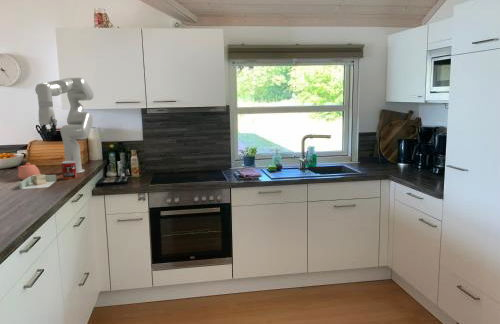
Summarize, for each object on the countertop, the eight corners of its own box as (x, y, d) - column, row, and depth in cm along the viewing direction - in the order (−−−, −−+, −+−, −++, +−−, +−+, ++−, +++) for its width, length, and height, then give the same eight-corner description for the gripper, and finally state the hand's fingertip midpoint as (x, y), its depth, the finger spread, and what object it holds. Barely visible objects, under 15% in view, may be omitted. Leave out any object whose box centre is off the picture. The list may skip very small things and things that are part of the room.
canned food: (62, 181, 247) (60, 163, 245) (64, 178, 254) (62, 161, 252) (76, 180, 249) (74, 162, 247) (77, 177, 256) (76, 160, 254)
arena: (30, 183, 243) (29, 176, 242) (56, 181, 245) (56, 174, 245) (20, 190, 225) (19, 182, 225) (48, 188, 228) (47, 180, 227)
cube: (32, 184, 237) (31, 175, 236) (41, 182, 241) (40, 174, 240) (37, 184, 234) (36, 176, 233) (46, 183, 238) (45, 174, 237)
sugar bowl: (31, 181, 249) (29, 164, 247) (11, 181, 252) (9, 164, 250) (45, 177, 261) (43, 161, 259) (26, 177, 264) (24, 161, 262)
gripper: (31, 105, 242) (35, 134, 245) (47, 105, 232) (51, 135, 235) (43, 104, 248) (47, 133, 251) (60, 104, 238) (63, 134, 241)
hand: (49, 134), depth 243 cm, fingers open, 9 cm apart
